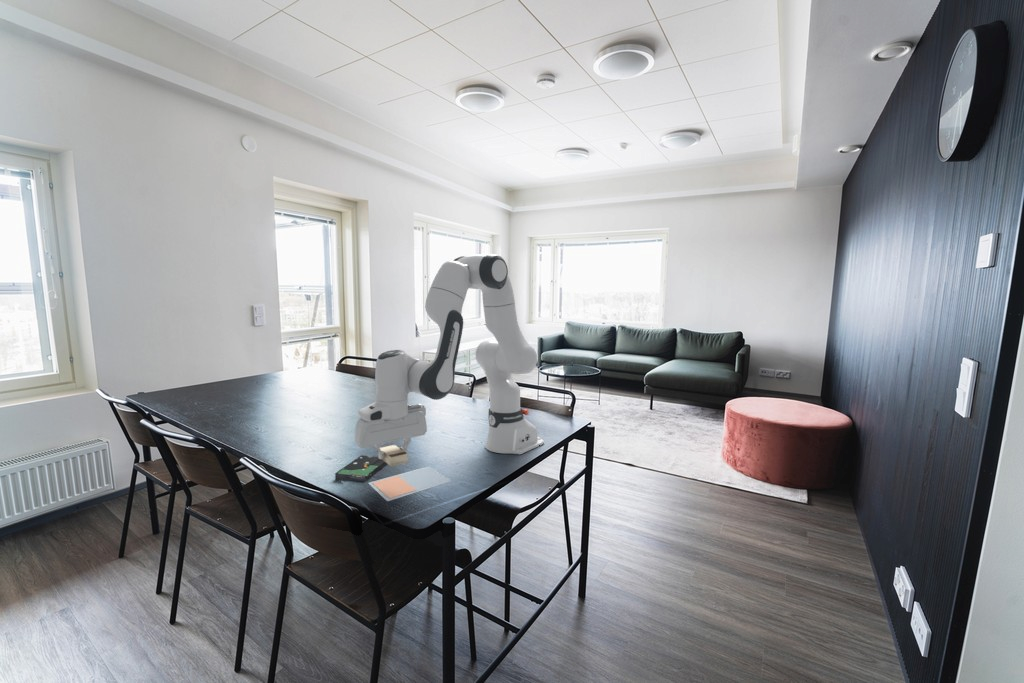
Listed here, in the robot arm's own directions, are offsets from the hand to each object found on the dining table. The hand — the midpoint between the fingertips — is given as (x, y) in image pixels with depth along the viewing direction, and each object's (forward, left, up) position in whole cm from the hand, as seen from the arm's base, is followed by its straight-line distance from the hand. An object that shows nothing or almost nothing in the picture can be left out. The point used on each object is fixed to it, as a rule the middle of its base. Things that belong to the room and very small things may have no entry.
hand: (392, 455), depth 122 cm
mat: (-5, 0, -10) cm, 11 cm away
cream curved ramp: (0, 0, -1) cm, 1 cm away
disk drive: (+2, -17, -11) cm, 20 cm away
